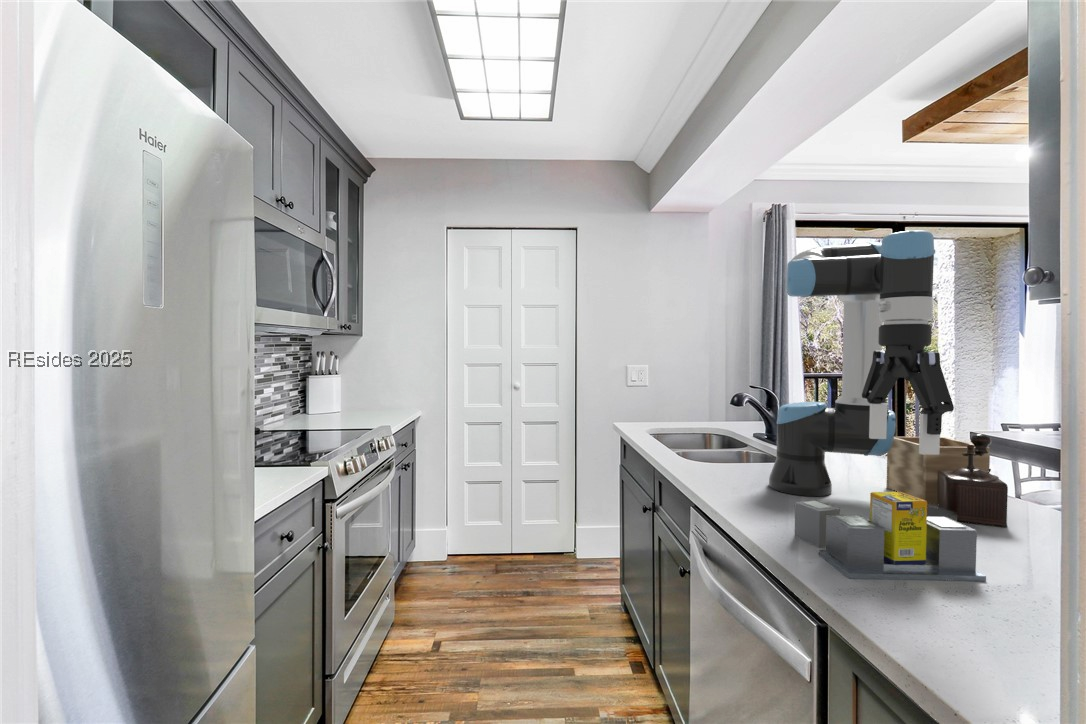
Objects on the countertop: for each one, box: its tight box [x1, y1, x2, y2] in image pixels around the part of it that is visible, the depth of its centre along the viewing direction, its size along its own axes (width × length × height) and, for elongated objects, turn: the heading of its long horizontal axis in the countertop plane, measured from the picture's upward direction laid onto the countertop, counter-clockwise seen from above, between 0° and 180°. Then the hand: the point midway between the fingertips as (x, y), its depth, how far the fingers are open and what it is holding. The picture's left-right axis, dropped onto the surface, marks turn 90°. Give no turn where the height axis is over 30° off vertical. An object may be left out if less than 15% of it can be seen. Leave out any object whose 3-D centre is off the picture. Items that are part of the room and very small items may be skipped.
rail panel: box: [818, 514, 987, 582], centre depth 90 cm, size 10×22×8 cm, turn 88°
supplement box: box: [869, 491, 928, 565], centre depth 90 cm, size 6×6×11 cm
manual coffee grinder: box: [937, 433, 1009, 529], centre depth 119 cm, size 16×11×18 cm
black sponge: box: [927, 506, 957, 521], centre depth 109 cm, size 16×8×4 cm, turn 126°
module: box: [793, 499, 841, 548], centre depth 102 cm, size 6×5×7 cm
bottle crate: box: [886, 436, 991, 505], centre depth 134 cm, size 15×15×14 cm
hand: (901, 445), depth 90 cm, fingers open, 13 cm apart
